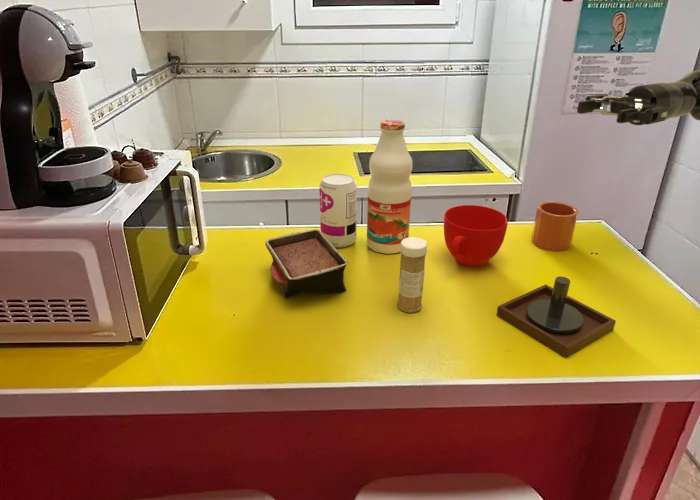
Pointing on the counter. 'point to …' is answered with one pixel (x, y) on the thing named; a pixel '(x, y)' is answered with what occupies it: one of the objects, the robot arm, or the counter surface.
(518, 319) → the tray
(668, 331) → the counter surface
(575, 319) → the grey peg stand
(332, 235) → the supplement can
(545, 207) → the jar
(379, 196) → the fruit juice
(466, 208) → the ceramic cup
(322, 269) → the baking dish
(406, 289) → the sprinkles bottle
